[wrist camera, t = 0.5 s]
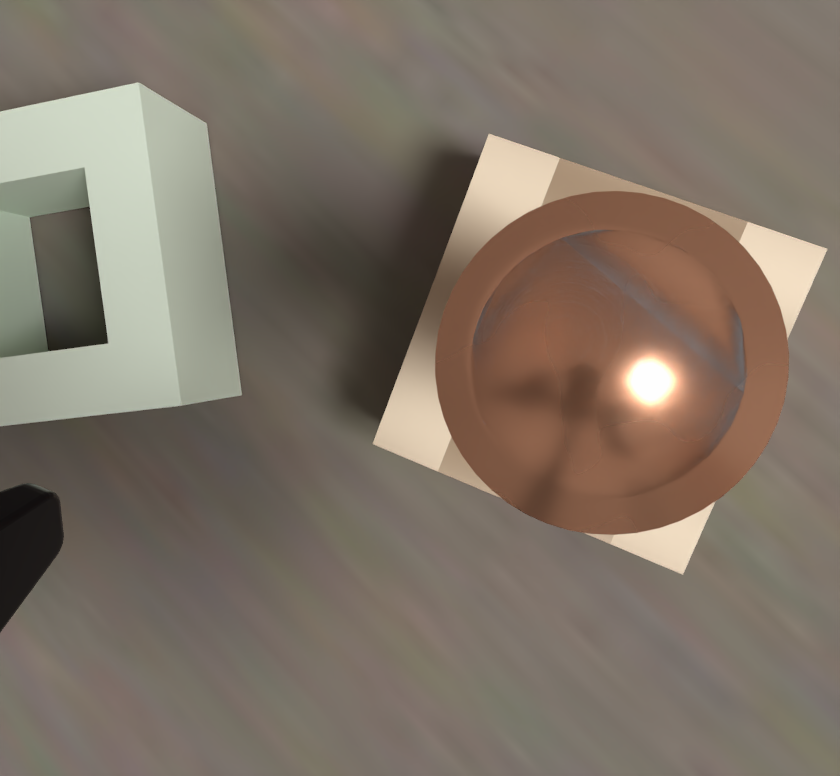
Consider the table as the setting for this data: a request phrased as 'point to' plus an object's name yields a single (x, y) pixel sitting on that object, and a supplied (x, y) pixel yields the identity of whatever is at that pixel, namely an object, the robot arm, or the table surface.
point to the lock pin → (611, 362)
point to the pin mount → (476, 224)
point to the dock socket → (115, 257)
